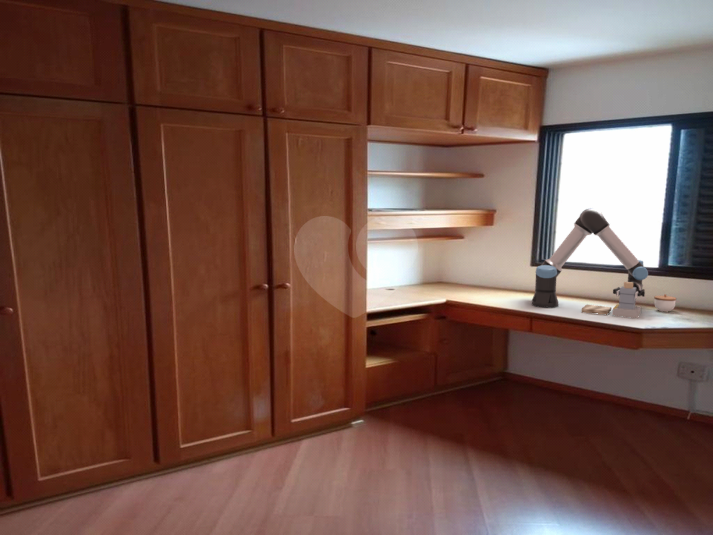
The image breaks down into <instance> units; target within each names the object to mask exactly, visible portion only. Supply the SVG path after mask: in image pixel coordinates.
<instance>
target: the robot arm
mask: <svg viewBox="0 0 713 535" xmlns="http://www.w3.org/2000/svg"><path fill="white" fill-rule="evenodd" d="M610 224H611V223H609V222H608V221H607V219H606V218H605V216H604V215H603V213H602V212H601V211H600V210H599V209H596V208H593V207H592V208H591V207H590V208H586V209H584V210H583V211H582V212H580V214H579V216H578V218H577V219H576V221H575V222H574V223H573V226H574V227H573V228H572V229H571V231H570V232H569V233H568V234H567V235H566V237H565V238H564V240H563V241H562V243H561V244H559V246H558V248H557V249H555V251H554V253H553V254H552V256H550V258H548V259H545V260H544V261H543V262H542V264H541V265H538V266H537V267H536V268H535V286H534V287H535V288H534V294H533V297H532V299H531V305H532V306H533V305H534V307H537V306H539V307H538V308H548V307H551V308H558V307H559V299H558V297H557V279H558V278H557V277H558V276H559V275H560V274H561V272H562V271H563V270H562V269H563V268H562V267H563V266H564V265H565V263H566V262H567V261H568V259H570V257H571V256H572V255H573V254H574V252H575V251H576V250H577V248H578V247H579V246H580V245H581V243H582V242H583V241H584V240H585V239H586V238H587V236H590V235H592V234H593V235H594V236H597V237H599V239H600V240H601V241H602V242H603V244H604V245H606V247H607V248H608V249H609V250H610V252H612V254H613V255H614V256H615V258H617V259H618V261H619V262H620V263H621V264H622V265H623V267H624V268H625V269H626V270H627V272H628V273H627V282H632V283H633V287H636V293H635V298H636V299H637V298H638V297H645V296H646V295H645V294H646V291H645V288H643V286H644V285H643V280H645V279H647V277H648V275H649V271H648V269H647V268H646V267H645V266H644V261H643V260H641V259H640V260H639V259H638V258H637V257H636V256H635V255H634V253H632V251H631V250H630V249H629V248H628V246H626V245H625V243H624V242H623V241H622V240H621V239H620V237H618V235H617V234H616V233H615V231H614V230H612V228H611V227H610ZM620 288H621V286H618V287H616V288H613V289H612V294H613V295H616V297H620Z"/></svg>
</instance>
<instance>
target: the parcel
mask: <svg viewBox="0 0 713 535" xmlns="http://www.w3.org/2000/svg"><path fill="white" fill-rule="evenodd" d="M623 286H624V288H631V289H633V283H632V282H628V281H624V282H623Z"/></svg>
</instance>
